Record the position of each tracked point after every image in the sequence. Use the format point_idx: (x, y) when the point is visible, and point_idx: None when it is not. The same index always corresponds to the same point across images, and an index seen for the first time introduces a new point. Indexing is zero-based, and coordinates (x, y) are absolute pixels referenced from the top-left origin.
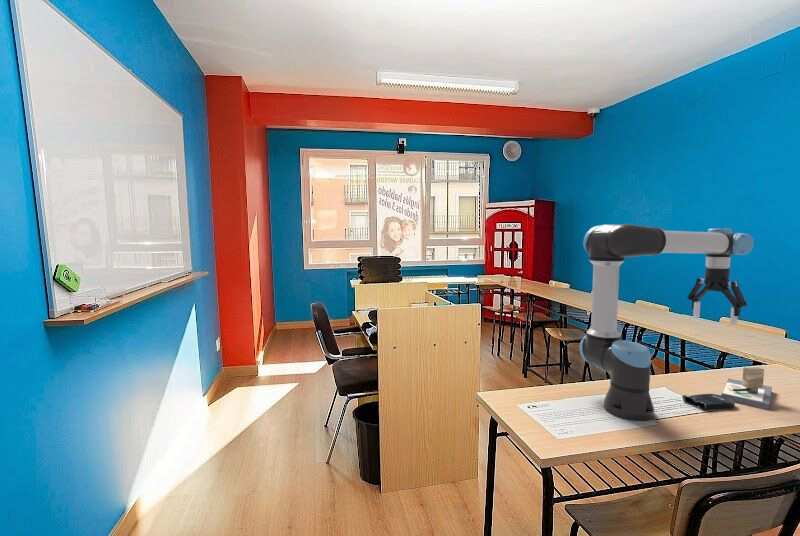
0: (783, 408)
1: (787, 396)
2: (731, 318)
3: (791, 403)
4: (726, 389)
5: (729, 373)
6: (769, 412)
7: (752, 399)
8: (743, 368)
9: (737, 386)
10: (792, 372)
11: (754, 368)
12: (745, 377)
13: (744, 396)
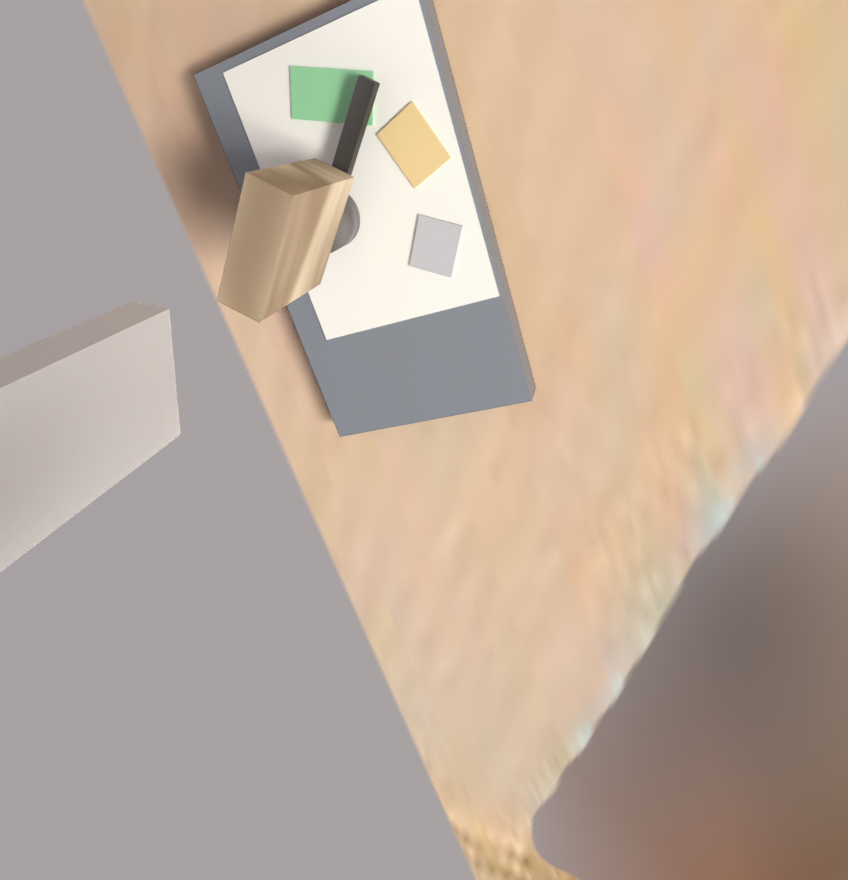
0: (202, 185)
1: (287, 412)
2: (62, 349)
3: (229, 313)
4: (433, 110)
5: (600, 580)
6: (189, 22)
7: (264, 54)
8: (295, 195)
9: (420, 248)
10: (432, 776)
11: (250, 256)
12: (304, 175)
13: (312, 68)
